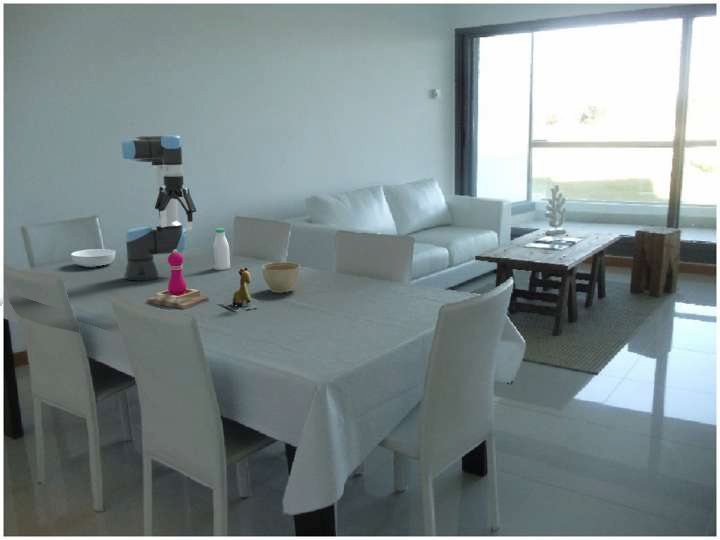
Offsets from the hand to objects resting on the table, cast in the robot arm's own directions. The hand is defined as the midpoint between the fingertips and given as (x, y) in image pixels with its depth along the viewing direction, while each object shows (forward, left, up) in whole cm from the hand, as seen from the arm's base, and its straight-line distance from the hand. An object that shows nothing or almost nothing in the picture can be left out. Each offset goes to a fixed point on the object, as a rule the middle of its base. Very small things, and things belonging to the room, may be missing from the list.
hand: (176, 228), depth 273 cm
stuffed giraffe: (+29, +5, -30) cm, 42 cm away
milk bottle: (-23, +52, -29) cm, 64 cm away
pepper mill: (+3, -5, -28) cm, 28 cm away
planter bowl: (+29, +30, -29) cm, 51 cm away
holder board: (+3, -5, -29) cm, 30 cm away
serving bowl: (-85, +27, -29) cm, 94 cm away
